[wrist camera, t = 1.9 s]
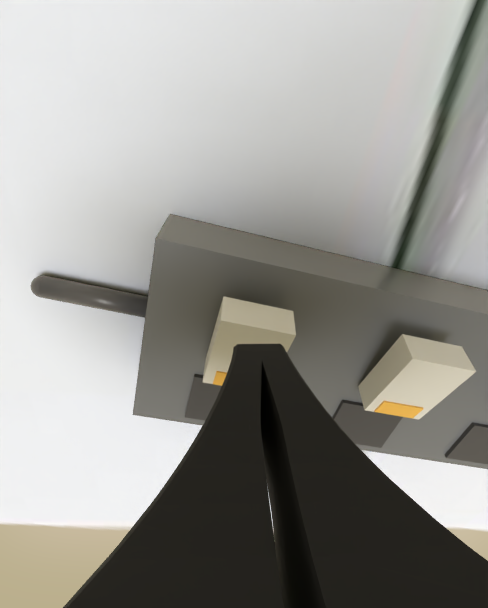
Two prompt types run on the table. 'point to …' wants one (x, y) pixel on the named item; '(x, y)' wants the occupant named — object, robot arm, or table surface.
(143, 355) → the power strip
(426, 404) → the rocker
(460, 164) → the table surface
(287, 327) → the rocker
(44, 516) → the table surface
